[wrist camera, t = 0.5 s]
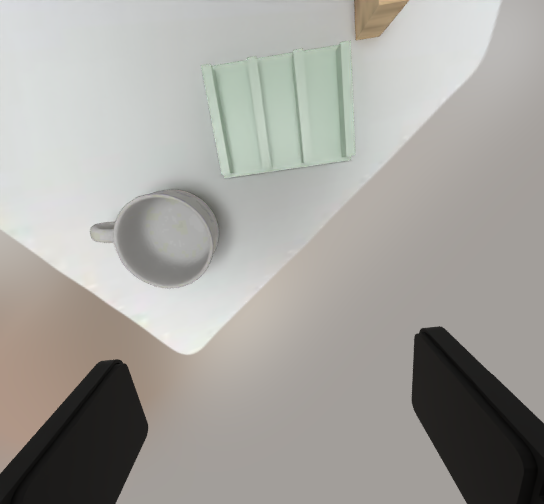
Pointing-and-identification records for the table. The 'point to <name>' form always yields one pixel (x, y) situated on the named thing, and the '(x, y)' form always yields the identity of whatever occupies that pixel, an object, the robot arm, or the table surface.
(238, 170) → the dish rack
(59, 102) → the table surface
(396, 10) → the oak board
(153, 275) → the teacup
